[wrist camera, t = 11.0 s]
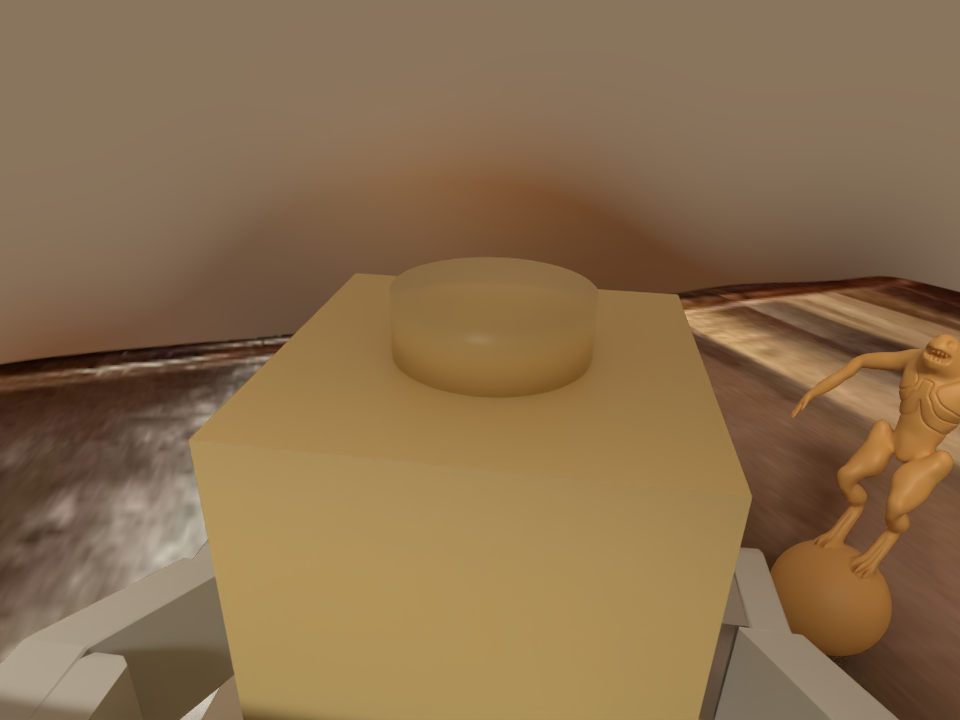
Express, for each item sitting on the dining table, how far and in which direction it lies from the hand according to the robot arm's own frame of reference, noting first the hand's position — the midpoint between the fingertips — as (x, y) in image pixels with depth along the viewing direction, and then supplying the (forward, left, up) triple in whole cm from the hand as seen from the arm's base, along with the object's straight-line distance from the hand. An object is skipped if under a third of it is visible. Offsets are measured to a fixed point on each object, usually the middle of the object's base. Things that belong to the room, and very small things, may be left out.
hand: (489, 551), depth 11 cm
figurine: (+12, +12, -13) cm, 21 cm away
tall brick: (0, -1, -5) cm, 5 cm away
